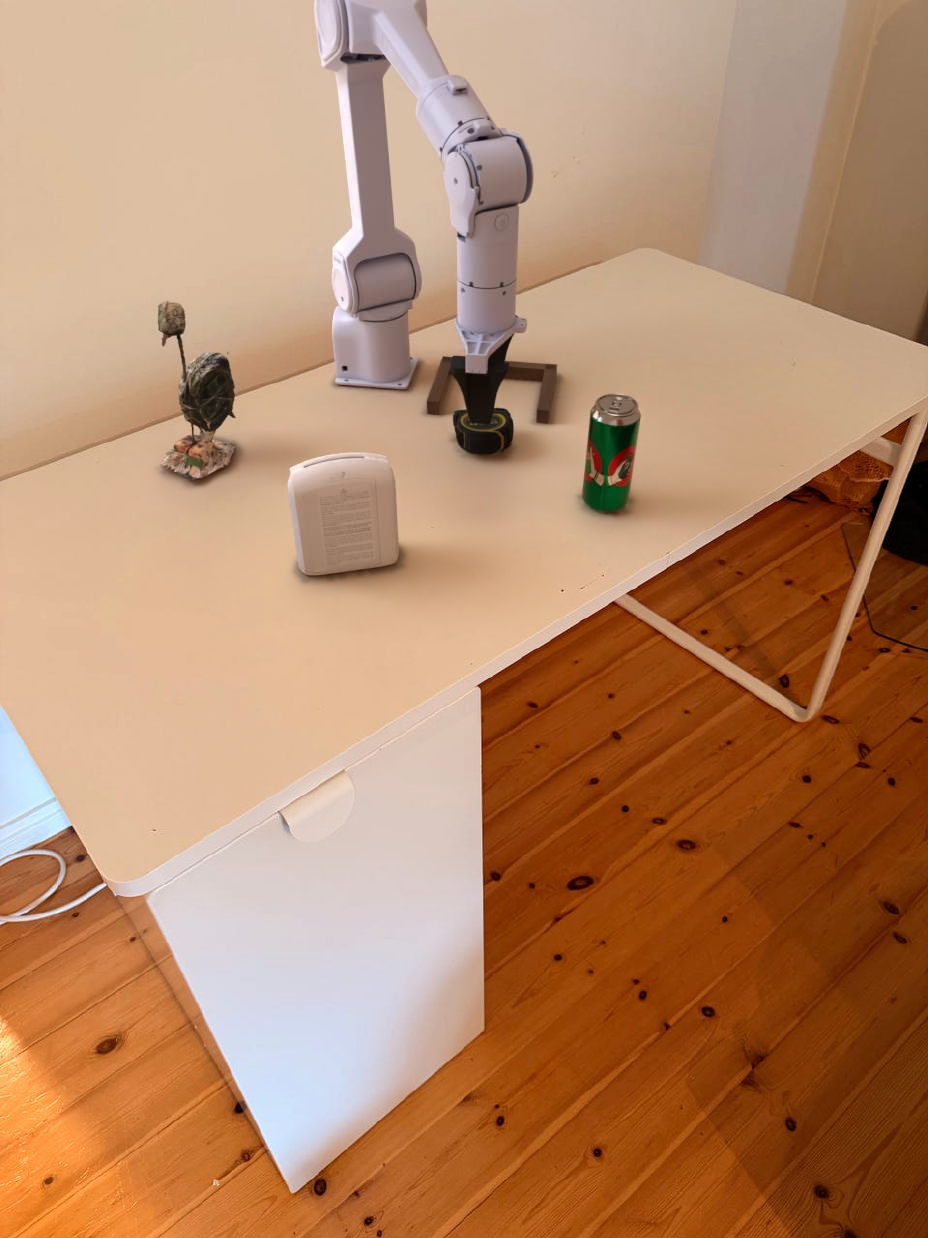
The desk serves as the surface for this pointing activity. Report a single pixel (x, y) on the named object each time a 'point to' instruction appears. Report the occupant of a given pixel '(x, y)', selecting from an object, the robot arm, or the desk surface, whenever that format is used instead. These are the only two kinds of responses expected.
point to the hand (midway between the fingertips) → (485, 402)
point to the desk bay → (515, 371)
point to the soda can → (610, 452)
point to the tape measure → (484, 432)
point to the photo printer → (343, 513)
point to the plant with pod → (199, 402)
